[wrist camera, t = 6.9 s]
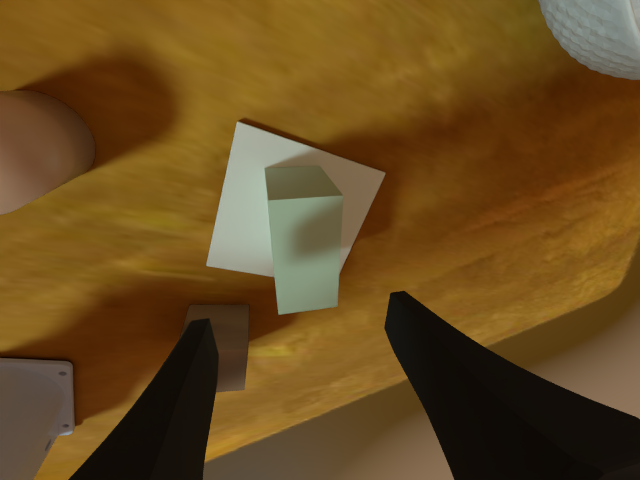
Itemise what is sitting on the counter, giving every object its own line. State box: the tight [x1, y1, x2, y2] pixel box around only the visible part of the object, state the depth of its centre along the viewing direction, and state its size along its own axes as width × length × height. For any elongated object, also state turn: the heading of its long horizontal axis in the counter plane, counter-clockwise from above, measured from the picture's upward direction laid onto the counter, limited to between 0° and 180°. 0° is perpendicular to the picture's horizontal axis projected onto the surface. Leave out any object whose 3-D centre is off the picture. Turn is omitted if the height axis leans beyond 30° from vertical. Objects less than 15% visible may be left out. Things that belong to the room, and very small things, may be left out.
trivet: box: [206, 121, 386, 277], centre depth 19 cm, size 10×10×1 cm
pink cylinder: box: [0, 90, 96, 215], centre depth 12 cm, size 4×4×5 cm
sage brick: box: [264, 166, 343, 315], centre depth 17 cm, size 7×4×6 cm, turn 179°
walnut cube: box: [180, 305, 249, 392], centre depth 21 cm, size 4×4×4 cm
